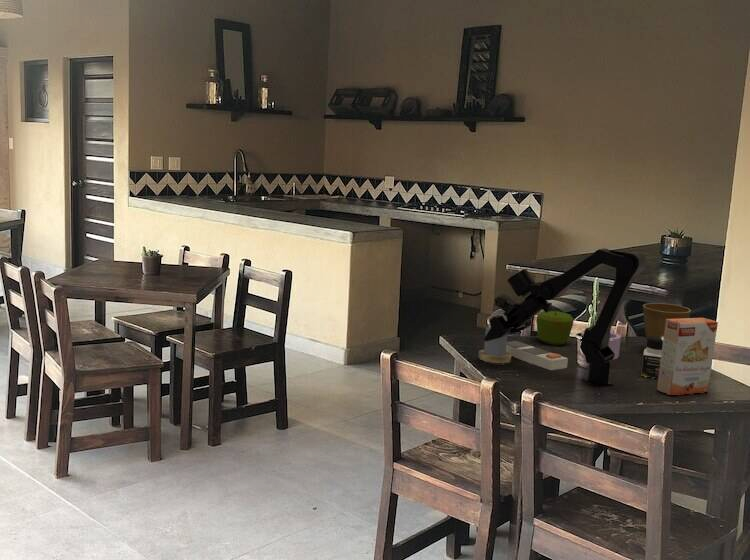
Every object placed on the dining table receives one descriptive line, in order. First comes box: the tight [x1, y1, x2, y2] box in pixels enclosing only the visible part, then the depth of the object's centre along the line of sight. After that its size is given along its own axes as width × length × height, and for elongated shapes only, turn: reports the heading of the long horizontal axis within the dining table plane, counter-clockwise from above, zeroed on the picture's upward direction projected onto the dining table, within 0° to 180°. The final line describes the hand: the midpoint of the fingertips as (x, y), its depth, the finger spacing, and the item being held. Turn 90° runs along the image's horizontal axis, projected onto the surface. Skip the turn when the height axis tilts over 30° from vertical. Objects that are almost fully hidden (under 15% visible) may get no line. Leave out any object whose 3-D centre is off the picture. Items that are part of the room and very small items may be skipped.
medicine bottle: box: [640, 336, 664, 379], centre depth 240 cm, size 7×7×12 cm
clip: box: [580, 327, 622, 360], centre depth 265 cm, size 20×12×7 cm, turn 163°
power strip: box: [506, 340, 569, 371], centre depth 251 cm, size 22×7×4 cm, turn 33°
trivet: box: [478, 349, 512, 365], centre depth 249 cm, size 10×10×2 cm
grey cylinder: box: [483, 326, 509, 357], centre depth 248 cm, size 5×5×8 cm
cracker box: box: [656, 317, 719, 396], centre depth 223 cm, size 14×6×21 cm, turn 114°
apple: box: [535, 310, 574, 346], centre depth 275 cm, size 12×12×11 cm
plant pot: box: [642, 302, 692, 339], centre depth 267 cm, size 15×15×16 cm
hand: (492, 337), depth 248 cm, fingers open, 9 cm apart
